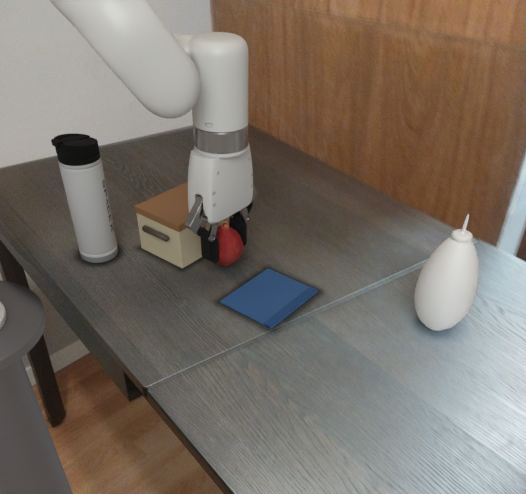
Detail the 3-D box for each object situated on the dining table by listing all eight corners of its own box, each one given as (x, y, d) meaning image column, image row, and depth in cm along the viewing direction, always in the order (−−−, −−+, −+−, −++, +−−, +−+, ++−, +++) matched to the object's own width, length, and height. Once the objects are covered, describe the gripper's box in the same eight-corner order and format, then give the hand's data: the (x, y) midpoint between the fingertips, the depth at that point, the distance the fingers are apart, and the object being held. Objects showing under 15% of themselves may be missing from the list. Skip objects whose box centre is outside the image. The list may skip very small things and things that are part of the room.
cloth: (271, 329, 77) (271, 326, 77) (219, 302, 82) (219, 299, 81) (317, 292, 84) (318, 289, 84) (268, 269, 89) (268, 267, 88)
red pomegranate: (218, 279, 84) (216, 234, 79) (201, 262, 88) (198, 218, 83) (249, 269, 87) (249, 224, 81) (231, 253, 90) (230, 209, 85)
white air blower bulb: (473, 333, 77) (515, 220, 66) (433, 349, 74) (469, 235, 63) (435, 304, 83) (467, 195, 71) (396, 319, 80) (423, 207, 68)
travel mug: (71, 254, 91) (42, 135, 78) (105, 240, 95) (82, 124, 81) (91, 268, 88) (64, 147, 74) (125, 254, 91) (105, 135, 78)
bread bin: (178, 271, 88) (173, 228, 82) (136, 250, 92) (129, 207, 87) (230, 240, 96) (229, 198, 90) (189, 222, 100) (186, 181, 95)
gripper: (240, 115, 80) (241, 223, 92) (155, 148, 70) (169, 265, 82) (280, 127, 77) (275, 238, 89) (197, 163, 67) (204, 283, 79)
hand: (224, 250), depth 85 cm, fingers closed on red pomegranate, 5 cm apart
